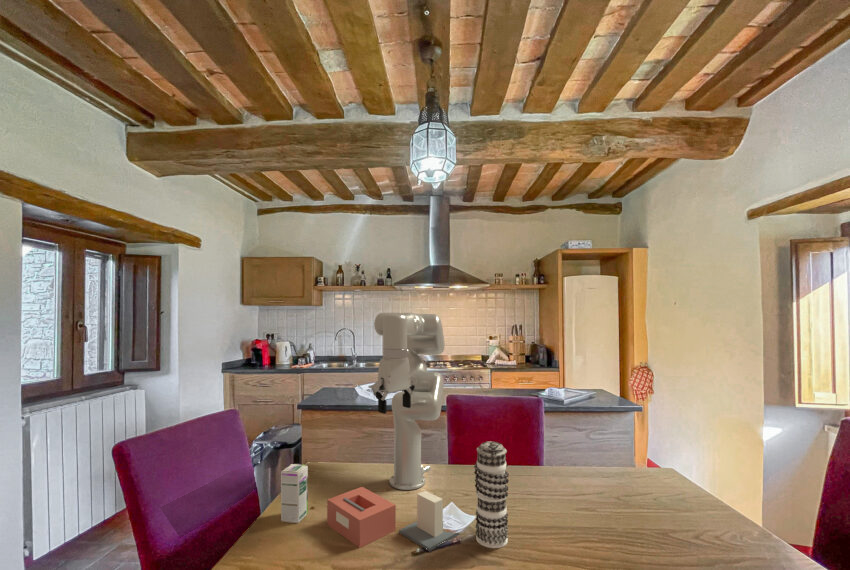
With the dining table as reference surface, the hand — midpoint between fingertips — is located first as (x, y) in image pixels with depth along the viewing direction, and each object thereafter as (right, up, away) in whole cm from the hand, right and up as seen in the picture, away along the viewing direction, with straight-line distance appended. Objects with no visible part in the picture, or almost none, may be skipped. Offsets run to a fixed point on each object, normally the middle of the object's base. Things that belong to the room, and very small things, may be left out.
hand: (394, 409), depth 129 cm
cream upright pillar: (+11, -29, -14) cm, 34 cm away
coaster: (+11, -30, -14) cm, 34 cm away
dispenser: (-9, -30, -11) cm, 33 cm away
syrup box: (-29, -30, -6) cm, 42 cm away
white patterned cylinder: (+27, -30, -17) cm, 44 cm away
